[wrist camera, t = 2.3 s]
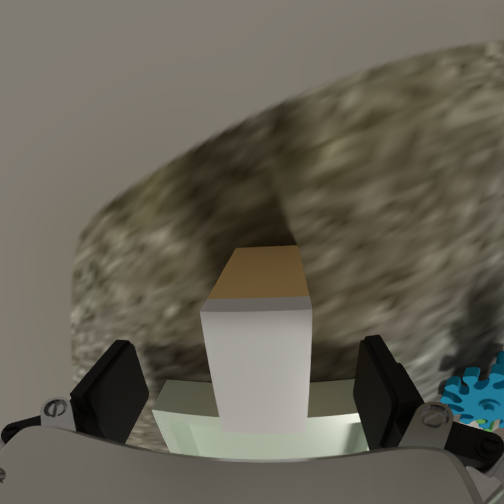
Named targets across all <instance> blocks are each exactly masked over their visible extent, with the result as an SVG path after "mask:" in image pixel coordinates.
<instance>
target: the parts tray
mask: <svg viewBox="0 0 504 504" xmlns="http://www.w3.org/2000/svg"><path fill="white" fill-rule="evenodd" d="M354 381H355V379H348V380H338V381H326V382H311V383H309V399H308V413H307V425H306V433H286V434H253V433H229V432H223V430H222V426H221V421H220V417H219V412H218V408H217V403H216V398H215V393H214V388H213V383H208V382H193V381H181V380H171V379H167V381H166V382H165V384H164V386H163V388H162V390H161V392H160V394H159V396H158V398H157V400H156V402H155V404H154V406H153V408H152V412H153V414H154V417H155V419H156V422H157V424H158V426H159V429H160V431H161V433H162V435H163V438H164V440H165V442H166V444H167V446H168V448H169V451H170V452H171V453H178V454H185V455H193V456H203V457H215V458H231V459H293V458H309V457H320V456H331V455H340V454H348V453H355V452H362V451H369V448H368V444H367V441H366V437H365V434H364V431H363V427H362V424H361V421H360V418H359V414H358V411H357V408H356V405H355V401H354V398H353V387H354Z"/></svg>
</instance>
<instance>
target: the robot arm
mask: <svg viewBox="0 0 504 504" xmlns="http://www.w3.org/2000/svg"><path fill="white" fill-rule="evenodd" d="M70 396H71V400H70V401H69V400H68V399H66V398H63V397H54V398H51V399H49V400H48V401H46V402H45V403H44V404H43V406H42V407H41V415H40V416H36V417H33V418H29V419H26V420H21V421H18V422H14V423H11V424H8V425H7V426H6V427H5V428H4V429H3V431H2V433H1V438H0V504H504V442H503V440H502V439H501V437H500V436H498V435H497V434H495V433H492V432H488V431H485V430H481V429H478V428H474V427H471V426H467V425H464V424H460V423H457V422H454V421H453V418H454V415H453V412H452V410H451V409H450V408H449V407H448V406H447V405H445V404H443V403H440V402H427V403H424V401H423V399H422V397H421V396H420V394H419V392H418V390H417V389H416V387H415V385H414V384H413V382H412V380H411V379H410V377H409V375H408V374H407V372H406V370H405V369H404V367H403V365H402V364H401V363H397V362H396V361H395V359H394V357H393V356H392V354H391V352H390V351H389V349H388V347H387V346H386V344H385V343H384V341H383V339H382V338H381V336H380V335H373V336H366V337H365V339H364V340H361V342H360V348H359V355H358V362H357V369H356V375H355V381H354V387H353V398H354V401H355V405H356V408H357V411H358V414H359V418H360V421H361V424H362V427H363V431H364V434H365V437H366V441H367V444H368V448H369V451H362V452H355V453H348V454H340V455H331V456H320V457H309V458H293V459H231V458H215V457H203V456H193V455H185V454H178V453H171V452H164V451H158V450H152V449H147V448H142V447H137V446H132V445H128V444H125V442H126V440H127V438H128V437H129V435H130V433H131V431H132V429H133V427H134V425H135V423H136V421H137V419H138V417H139V415H140V413H141V411H142V409H143V407H144V406H145V404H146V402H147V400H148V397H149V391H148V388H147V385H146V382H145V379H144V376H143V373H142V370H141V367H140V363H139V360H138V357H137V353H136V350H135V347H134V345H133V344H131V343H130V341H128V340H116V341H115V342H114V343H113V344H112V345H111V346H110V347H109V349H108V350H107V351H106V352H105V353H104V354H103V355H102V357H101V358H100V359H99V360H98V361H97V362H96V364H95V365H94V366H93V367H92V368H91V369H90V371H89V372H88V373H87V374H86V375H85V376H84V378H83V379H82V380H81V381H80V382H79V384H78V385H77V386H76V387H75V388H74V390H73V391H72V392H71V393H70Z"/></svg>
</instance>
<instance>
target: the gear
mask: <svg viewBox="0 0 504 504" xmlns="http://www.w3.org/2000/svg"><path fill="white" fill-rule="evenodd" d="M479 374H480V369H479V368H478V367H469V368H466V369H465V372H464V376H463V381H464V382H465V383H466V384H467V385H468V386H469V387H466V386H463V385H462V384H461V379H460V377H458V376H453V377H451V378H449V379H447V382H446V385H445V387H444V388H445V390H444V392H443V395H442V397H441V400H440V402H442V403H446V404H448V407H449V408H450V409H451V410H452V412H453V415H456V414H461V417H460V419H459V420H460V421H461V422H462V423H464V424H469V423H471V422H472V421H474V420H476V422H477V423H479V425H478V427H481V428H483V430H485V431H488V432H491V431H492V428H493V425H494V422H495V420H496V419H501V420H500V424H499V427H500V428H504V351H500V352H499V353H498V354H497V359H496V364H493V365H492V367H491V372H490V376H489V377H488V378H487V379H486V380H484V381H479V380H478V377H479Z"/></svg>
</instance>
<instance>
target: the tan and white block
mask: <svg viewBox="0 0 504 504" xmlns="http://www.w3.org/2000/svg"><path fill="white" fill-rule="evenodd" d="M200 316H201V322H202V328H203V334H204V340H205V346H206V351H207V357H208V362H209V368H210V373H211V378H212V383H213V388H214V393H215V398H216V403H217V408H218V412H219V417H220V421H221V426H222V430H223V432H229V433H253V434H286V433H306V425H307V413H308V399H309V383H310V364H311V340H312V306H311V301H310V297H309V292H308V288H307V283H306V279H305V275H304V271H303V266H302V262H301V258H300V254H299V250H298V246H297V245H293V246H269V247H246V248H236V249H235V250H234V252H233V254H232V256H231V257H230V259H229V261H228V263H227V264H226V266H225V268H224V270H223V272H222V273H221V275H220V277H219V279H218V280H217V282H216V284H215V286H214V287H213V289H212V291H211V293H210V295H209V296H208V298H207V300H206V302H205V304H204V305H203V307H202V309H201V311H200Z"/></svg>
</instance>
